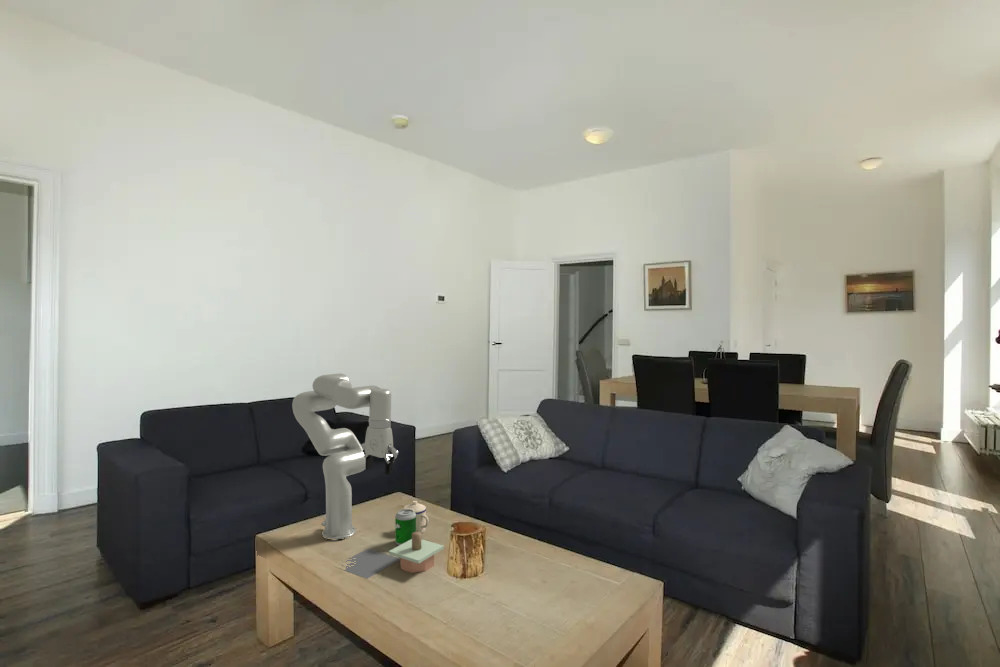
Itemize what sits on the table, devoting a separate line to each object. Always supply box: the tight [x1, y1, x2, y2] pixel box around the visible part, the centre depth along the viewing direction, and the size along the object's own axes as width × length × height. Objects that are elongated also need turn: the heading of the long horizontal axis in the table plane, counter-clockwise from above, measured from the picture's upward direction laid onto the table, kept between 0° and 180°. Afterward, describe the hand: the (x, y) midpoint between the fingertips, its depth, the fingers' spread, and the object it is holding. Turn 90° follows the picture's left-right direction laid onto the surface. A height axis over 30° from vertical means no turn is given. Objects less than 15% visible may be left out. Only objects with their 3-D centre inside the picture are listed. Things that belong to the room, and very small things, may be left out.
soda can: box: [394, 509, 416, 546], centre depth 194 cm, size 8×8×12 cm
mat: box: [342, 548, 400, 580], centre depth 178 cm, size 16×16×1 cm
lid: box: [388, 532, 445, 564], centre depth 177 cm, size 13×13×6 cm
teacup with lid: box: [402, 500, 430, 534], centre depth 205 cm, size 12×9×12 cm
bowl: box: [399, 554, 435, 573], centre depth 177 cm, size 11×11×5 cm
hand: (378, 470), depth 188 cm, fingers open, 9 cm apart
